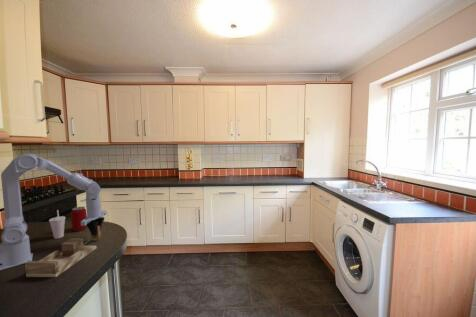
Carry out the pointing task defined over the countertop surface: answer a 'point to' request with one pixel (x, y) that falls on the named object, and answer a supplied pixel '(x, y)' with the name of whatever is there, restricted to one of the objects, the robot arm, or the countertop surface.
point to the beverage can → (78, 218)
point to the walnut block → (77, 244)
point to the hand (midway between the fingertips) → (95, 234)
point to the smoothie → (57, 226)
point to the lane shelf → (55, 263)
